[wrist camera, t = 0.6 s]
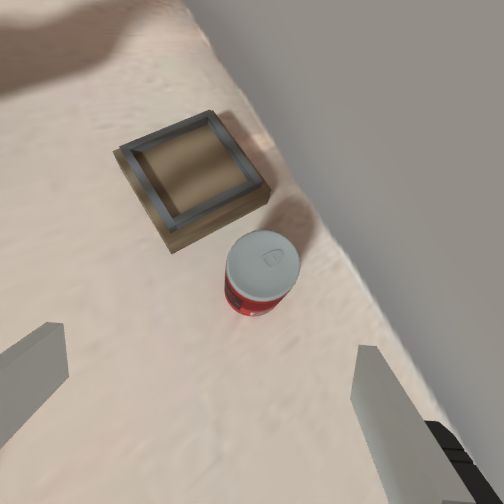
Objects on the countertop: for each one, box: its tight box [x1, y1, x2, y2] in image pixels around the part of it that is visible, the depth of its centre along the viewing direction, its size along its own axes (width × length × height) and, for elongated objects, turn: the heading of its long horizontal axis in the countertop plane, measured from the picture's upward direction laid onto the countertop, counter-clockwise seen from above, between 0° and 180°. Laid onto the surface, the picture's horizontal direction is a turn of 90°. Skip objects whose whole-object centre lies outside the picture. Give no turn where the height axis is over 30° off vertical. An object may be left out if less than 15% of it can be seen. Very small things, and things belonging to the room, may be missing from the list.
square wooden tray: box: [113, 110, 271, 254], centre depth 45 cm, size 16×16×6 cm
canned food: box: [225, 230, 300, 316], centre depth 37 cm, size 8×8×11 cm
